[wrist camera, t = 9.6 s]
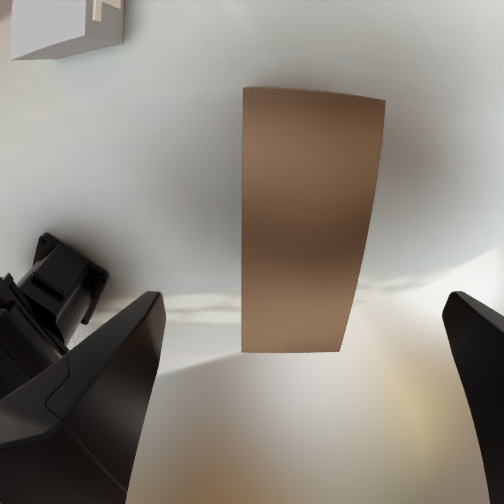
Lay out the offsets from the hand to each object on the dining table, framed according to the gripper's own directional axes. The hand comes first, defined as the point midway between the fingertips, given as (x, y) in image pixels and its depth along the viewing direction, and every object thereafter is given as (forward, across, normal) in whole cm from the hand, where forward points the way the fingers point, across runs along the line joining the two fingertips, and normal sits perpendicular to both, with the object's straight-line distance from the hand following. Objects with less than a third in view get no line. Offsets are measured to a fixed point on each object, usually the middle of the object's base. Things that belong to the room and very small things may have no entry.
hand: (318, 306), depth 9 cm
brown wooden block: (+12, 0, 0) cm, 12 cm away
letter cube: (+12, +12, -12) cm, 21 cm away
